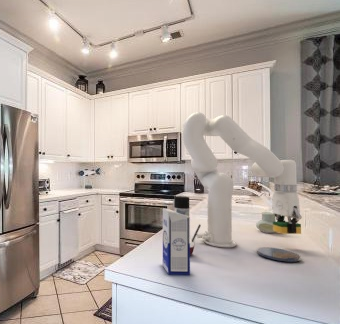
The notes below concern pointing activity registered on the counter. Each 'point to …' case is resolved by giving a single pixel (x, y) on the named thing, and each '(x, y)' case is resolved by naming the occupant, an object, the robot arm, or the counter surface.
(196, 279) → the counter surface
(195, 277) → the counter surface
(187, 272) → the milk carton
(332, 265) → the counter surface
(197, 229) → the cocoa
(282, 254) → the plate
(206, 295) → the counter surface
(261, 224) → the air freshener
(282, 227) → the sponge
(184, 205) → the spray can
